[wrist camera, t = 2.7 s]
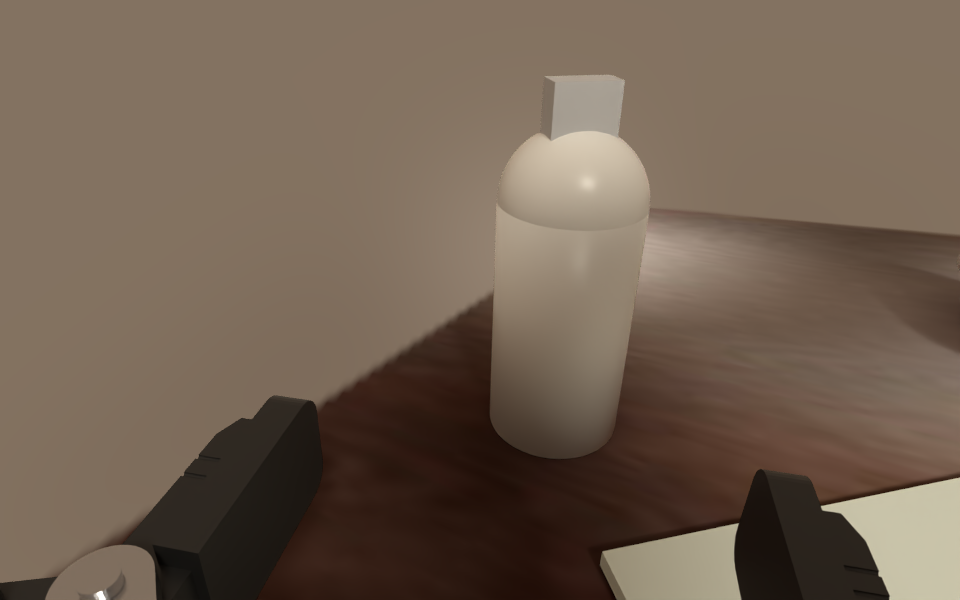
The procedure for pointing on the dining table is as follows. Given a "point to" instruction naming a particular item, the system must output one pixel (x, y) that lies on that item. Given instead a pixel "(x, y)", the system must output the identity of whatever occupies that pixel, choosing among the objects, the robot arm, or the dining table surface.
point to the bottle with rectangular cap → (566, 272)
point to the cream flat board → (878, 519)
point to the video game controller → (958, 262)
